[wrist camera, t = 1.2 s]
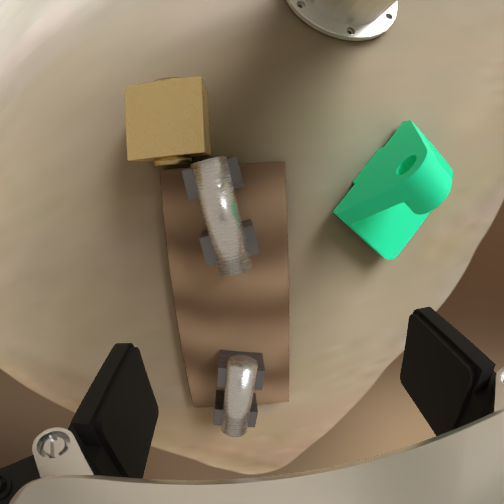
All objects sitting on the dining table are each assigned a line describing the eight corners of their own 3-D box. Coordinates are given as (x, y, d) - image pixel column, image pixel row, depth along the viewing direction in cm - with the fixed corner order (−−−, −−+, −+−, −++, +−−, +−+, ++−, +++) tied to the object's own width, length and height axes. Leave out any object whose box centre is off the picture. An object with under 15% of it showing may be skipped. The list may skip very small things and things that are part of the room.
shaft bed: (163, 170, 28) (159, 170, 27) (282, 162, 29) (284, 161, 27) (194, 399, 35) (193, 407, 34) (287, 393, 36) (288, 401, 34)
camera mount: (379, 256, 32) (431, 292, 22) (329, 210, 30) (371, 230, 21) (442, 173, 30) (506, 180, 20) (398, 122, 28) (458, 110, 19)
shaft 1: (186, 167, 27) (177, 167, 23) (235, 154, 27) (236, 152, 22) (211, 263, 29) (208, 281, 25) (259, 252, 29) (263, 268, 25)
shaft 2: (220, 342, 32) (218, 369, 27) (263, 346, 32) (267, 373, 27) (214, 407, 34) (213, 435, 29) (252, 409, 34) (255, 437, 30)
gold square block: (145, 95, 27) (125, 79, 21) (207, 87, 27) (201, 68, 21) (148, 168, 28) (128, 168, 23) (211, 161, 29) (205, 160, 23)
